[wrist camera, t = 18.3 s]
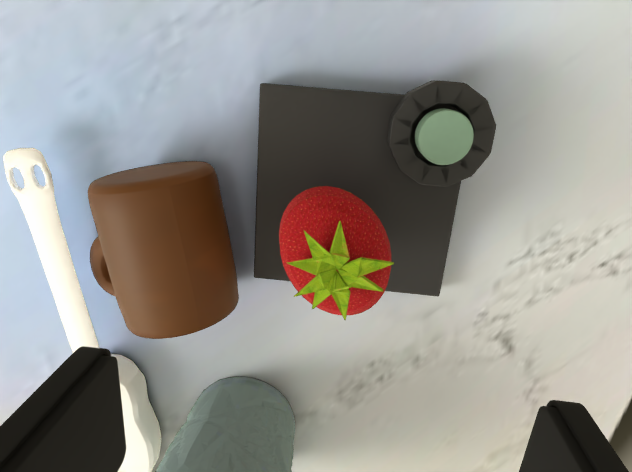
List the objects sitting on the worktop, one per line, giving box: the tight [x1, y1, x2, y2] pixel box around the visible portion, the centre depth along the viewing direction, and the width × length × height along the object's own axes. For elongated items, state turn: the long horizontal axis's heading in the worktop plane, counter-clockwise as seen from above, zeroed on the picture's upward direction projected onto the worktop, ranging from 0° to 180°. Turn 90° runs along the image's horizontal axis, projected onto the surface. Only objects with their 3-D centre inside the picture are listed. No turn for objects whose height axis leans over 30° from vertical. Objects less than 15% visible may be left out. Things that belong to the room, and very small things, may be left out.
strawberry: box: [279, 186, 394, 320], centre depth 25 cm, size 6×8×10 cm
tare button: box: [415, 108, 474, 165], centre depth 25 cm, size 3×3×2 cm
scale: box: [254, 81, 496, 296], centre depth 29 cm, size 14×14×3 cm
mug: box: [88, 161, 239, 339], centre depth 29 cm, size 12×8×9 cm
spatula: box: [3, 148, 161, 472], centre depth 34 cm, size 28×6×3 cm, turn 7°
